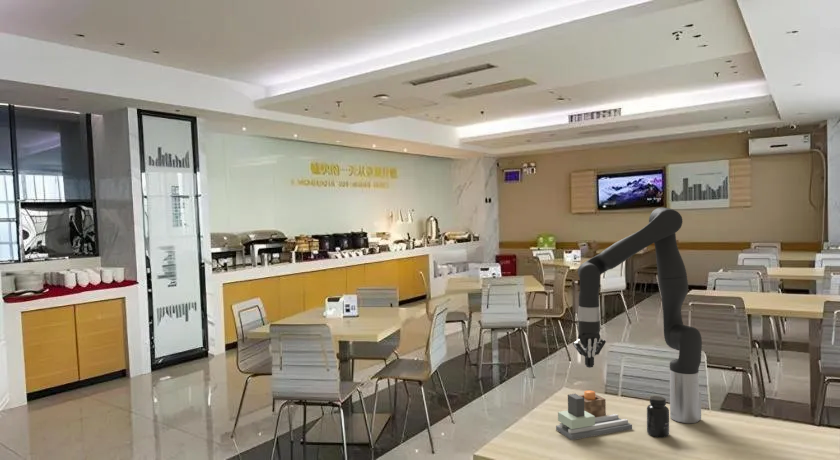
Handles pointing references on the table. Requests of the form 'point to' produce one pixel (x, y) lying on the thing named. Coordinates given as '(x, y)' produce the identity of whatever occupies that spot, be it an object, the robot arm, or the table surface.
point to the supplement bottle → (657, 417)
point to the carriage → (576, 413)
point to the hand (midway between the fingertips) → (589, 366)
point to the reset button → (589, 395)
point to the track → (596, 427)
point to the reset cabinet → (595, 406)
